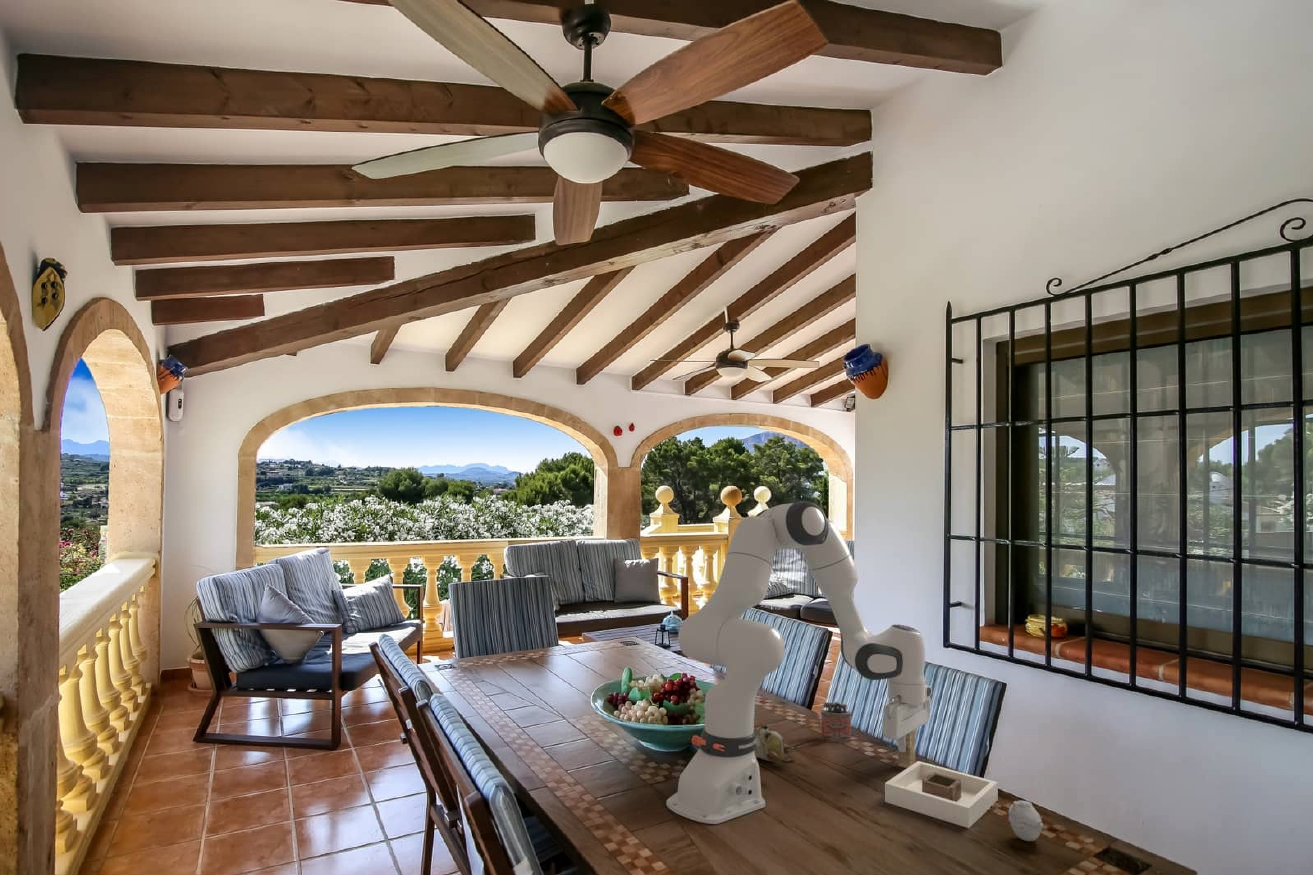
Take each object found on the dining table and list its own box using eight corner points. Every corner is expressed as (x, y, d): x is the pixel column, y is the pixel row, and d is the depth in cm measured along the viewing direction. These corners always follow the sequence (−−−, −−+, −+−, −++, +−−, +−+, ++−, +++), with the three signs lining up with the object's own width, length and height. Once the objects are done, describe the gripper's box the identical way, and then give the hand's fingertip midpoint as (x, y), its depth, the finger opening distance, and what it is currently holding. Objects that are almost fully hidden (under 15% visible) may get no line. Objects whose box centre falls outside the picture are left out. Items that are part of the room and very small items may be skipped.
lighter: (850, 738, 204) (850, 701, 205) (852, 742, 201) (852, 704, 201) (820, 737, 205) (820, 699, 205) (821, 741, 202) (821, 703, 202)
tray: (968, 828, 152) (968, 805, 152) (885, 801, 164) (884, 780, 164) (997, 800, 165) (997, 779, 166) (918, 778, 177) (918, 758, 178)
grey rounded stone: (1031, 831, 151) (1030, 795, 152) (1050, 848, 144) (1050, 810, 145) (1001, 831, 151) (1001, 795, 152) (1019, 848, 144) (1019, 811, 145)
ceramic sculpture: (742, 714, 196) (799, 724, 191) (739, 748, 195) (797, 758, 191) (734, 728, 185) (795, 738, 181) (732, 763, 185) (793, 774, 181)
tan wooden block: (910, 769, 182) (909, 727, 183) (898, 766, 184) (898, 724, 185) (915, 766, 184) (914, 724, 185) (903, 762, 186) (903, 722, 187)
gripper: (900, 703, 176) (901, 763, 175) (934, 686, 191) (935, 741, 190) (875, 698, 180) (875, 756, 179) (910, 681, 195) (911, 735, 194)
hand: (906, 748), depth 185 cm, fingers closed on tan wooden block, 3 cm apart
